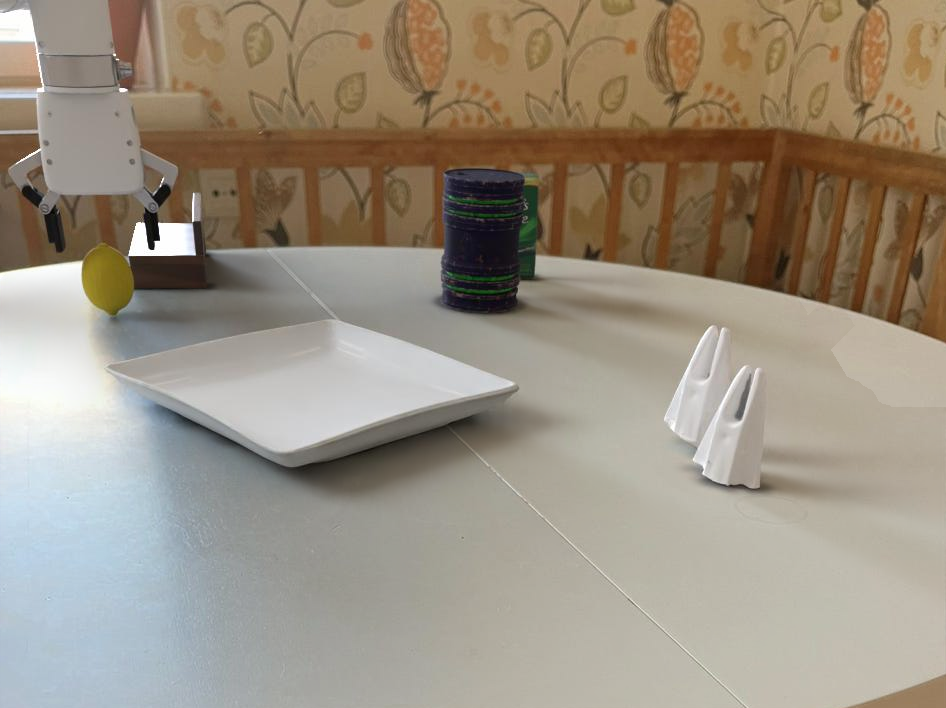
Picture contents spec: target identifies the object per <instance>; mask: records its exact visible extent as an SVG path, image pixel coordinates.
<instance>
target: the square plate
mask: <svg viewBox="0 0 946 708" xmlns="http://www.w3.org/2000/svg"><path fill="white" fill-rule="evenodd" d="M102 368H103V370H104V371H105V372H106V373H108V374H110V375H111V376H112V377H113V378H114V379H116V381H118V382H119V383H120V384H121V385H123V386H124V387H126V388H127V389H129V390H131V391H132V392H134V393H135V394H137V395H138V396H141V397H143V398H145V399H147V400H149V401H151V402H153V403H155V404H156V405H159V406H162V407H164V408H166V409H168V410H170V411H173V412H175V413H176V414H178V415H180V416H182V417H184V418H185V419H188V420H190V421H192V422H194V423H196V424H199V425H200V426H202V427H204V428H206V429H209V430H210V431H212V432H214V433H217V434H218V435H220V436H223V437H225V438H227V439H229V440H231V441H233V442H235V443H237V444H239V445H241V446H243V447H244V448H247V449H248V450H249V451H251V452H253V453H255V454H256V455H259V456H261V457H263V458H264V459H267V460H269V461H271V462H274V463H276V464H277V465H280V466H282V467H283V466H284V467H287V468H297V467H302V466H305V465H308V464H313V463H314V464H317V463H325V462H330V461H333V460H337V459H340V458H344V457H346V456H350V455H353V454H356V453H360V452H363V451H366V450H369V449H372V448H376V447H378V446H382V445H385V444H389V443H391V442H394V441H398V440H401V439H404V438H407V437H412V436H414V435H418V434H421V433H425V432H428V431H432V430H435V429H438V428H441V427H444V426H446V425H448V424H450V423H452V422H456V421H459V420H463V419H465V418H468V417H471V416H475V415H477V414H481V413H483V412H485V411H488V410H491V409H493V408H495V407H497V406H499V405H500V404H502V403H504V402H506V400H508V399H509V398H510V397H512V396H513V395H514V394H515V393H517V392H518V391H519V390H520V385H519V384H517V383H516V382H514V381H512V380H509V379H506V378H503V377H501V376H497V375H495V374H493V373H490V372H487V371H484V370H483V369H479V368H477V367H474V366H472V365H469V364H466V363H464V362H463V361H462V362H461V361H459V360H456V359H454V358H452V357H450V356H447V355H444V354H441V353H438V352H435V351H432V350H430V349H427V348H425V347H422V346H419V345H417V344H414V343H411V342H408V341H405V340H403V339H400V338H396V337H393V336H390V335H387V334H384V333H380V332H378V331H373V330H371V329H367V328H364V327H361V326H357V325H354V324H351V323H347V322H345V321H342V320H338V319H334V318H333V319H331V318H330V319H324V320H319V321H313V322H307V323H300V324H295V325H289V326H288V325H287V326H282V327H276V328H270V329H264V330H258V331H253V332H247V333H243V334H237V335H233V336H227V337H223V338H218V339H214V340H208V341H204V342H199V343H195V344H191V345H185V346H181V347H176V348H173V349H170V350H169V349H168V350H165V351H160V352H156V353H151V354H149V355H148V354H147V355H144V356H139V357H136V358H131V359H127V360H122V361H118V362H112V363H109V364H106V365H104V366H103V367H102Z"/></svg>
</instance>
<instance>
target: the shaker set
mask: <svg viewBox="0 0 946 708" xmlns="http://www.w3.org/2000/svg"><path fill="white" fill-rule="evenodd" d="M718 330H719V329H718V327H717V325H715V324H714V325H711V326H709V327H708V328H707V329H706V331H705V332H704V334H703V336H702V337H701V338H700V341H699V342H698V343H697V344H698V345H697V346H696V348H695V351H694V353H693V355H692V357H691V359H690V362H689V364H688V365H687V368H686V370H685V372H684V374H683V375H682V378H681V380H680V382H679V385H678V386H677V389H676V391H675V393H674V396H673V397H672V400H671V402H670V404H669V406H668V409H667V411H666V413H665V415H664V417H663V421H664V423H665V424H666V426H667V427H668V428H670V429H671V430H672V432H673V433H674V434H676V435H677V436H678V437H679V438H681V439H682V440H683V441H685V442H686V443H688V444H690V445H691V446H693V447H694V448H696V449H697V450H696V452H695V454H694V455H693V458H692V462H693V463H695V464H697V465H700V466H702V468H703V471H702V472H701V474H702V475H703V476H704V477H707V478H708V479H710V480H711V482H715V483H717V484H720V485H726V486H730V485H732V486H737V485H743V486H746V487H747V488H748V489H751V490H753V489H758V488H760V487H761V475H762V473H761V472H762V461H763V448H764V436H765V435H764V434H765V416H766V415H765V414H766V385H767V378H766V372H765V370H764V369H763V368H761V367H757V368H756V369H755V372H754V375H753V378H752V366H751V365H748V364H746V365H744V366H743V367H741V369H740V370H738V373H737V374H736V376H735V377H734V378H733V381H732V382H731V363H732V362H731V359H732V358H731V357H732V334H731V330H730V329H729V328H727V327H726V326H724V327H722V328H721V329H720V333H719V331H718Z"/></svg>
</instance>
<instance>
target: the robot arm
mask: <svg viewBox="0 0 946 708" xmlns="http://www.w3.org/2000/svg"><path fill="white" fill-rule="evenodd" d="M25 12H29V14H30V22H31V27H32V32H33V37H34V43H35V48H36V49H35V50H36V53H37V54H36V56H37V60H38V67H39V72H40V78H41V79H40V80H41V83H42V84H41V85H42V87H40V88H37V89H36V119H37V130H38V131H37V133H38V140H39V141H38V142H39V149H38V150H36V151H35V152H33V153H31V154H29V155H28V156H26V157H25V158H23V159H21V160H20V161H18V162H16V163H14V164H12V165H11V166H10V167H9V168H8V169H7V174H8V175H9V177H10V178H11V180H12V182H13V183H14V184H15V186H16V187H17V188H18V189H19V191H20V193H21V194H22V196H23V197H24V198H25V199H26V200H27V201H29V202H30V204H32V205H34V207H36V208H37V209H38V210H39V212H40V213H41V214H43V218H44V219H43V220H44V222H45V223H44V224H45V229H46V234H47V240H48V243H49V244H54V247H55V252H56V254H62V253H63V252H64V251H65V249H66V247H67V243H66V237H65V232H64V227H63V221H62V215H61V211H60V210H59V209H58V208H57V204H56V203H57V202H58V201H59V199H60V198H61V195H63V196H110V195H111V196H115V195H120V196H121V195H133V197H135V198H136V199H137V200H138V201H139V202H140V203H141V204H142V205H143V206H144V209H143V213H142V216H143V223H144V225H145V232H146V239H147V247H148V250H150V251H155V247H156V244H155V241H161V236H160V228H159V223H160V222H159V214H158V211H159V209H160V208H161V206H162V205H163V204H164V203H165V202H166V201H167V199H168V198H169V196H171V194H172V191H173V188H174V186H175V183H176V180H177V178H178V175H179V168H178V166H177V165H175V164H173V163H172V162H169V161H167V160H166V159H164V158H161V157H160V156H158V155H156V154H155V153H152V152H150V151H148V150H146V149H144V148H142V147H143V146H142V143H141V136H140V130H139V125H138V122H137V121H138V120H137V116H136V112H135V109H134V106H133V101H132V99H131V96H130V92H129V89H127V88H121V87H120V86H121V84H120V82H121V81H122V80H123V79H126V78H133V67H132V62H125V61H123V60H120V58H117V54H116V51H115V43H114V37H113V29H112V22H111V21H112V20H111V15H110V14H111V13H110V5H109V0H0V16H2V15H12V14H21V13H25ZM40 166H42V172H43V177H44V181H45V184H46V187H47V188H48V190H47V192H46V193H45V194H44V193H43V192H42V191H40V190H39V189H38V188H37V187H36V186H34V185H33V184H32V182H31V181H30V179H29V177H28V173H30V172H32V171H33V170H36V169H37V168H38V167H40ZM145 166H146V167H148V168H151V169H152V170H155V171H157V172H159V173H160V174H162V177H163V178H162V181H161V183H160V184H159V186H158V187H157V189H156V190H155V191H154V192H152V191H151V190H150V189H149V188H148V187H147V186H146V185H145V183H146V167H145Z"/></svg>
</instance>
